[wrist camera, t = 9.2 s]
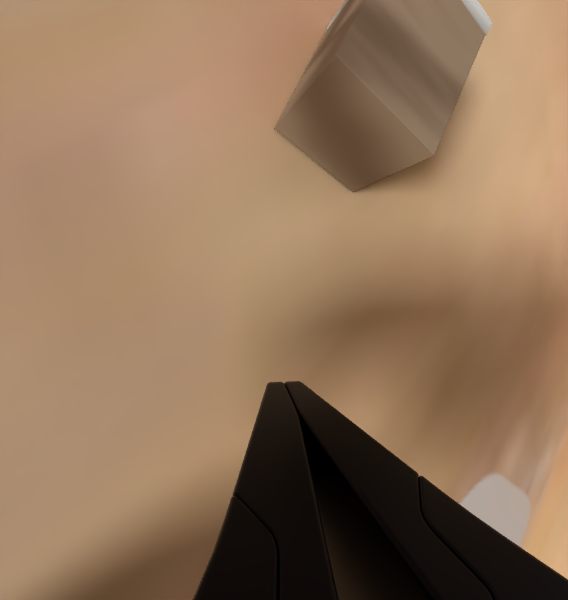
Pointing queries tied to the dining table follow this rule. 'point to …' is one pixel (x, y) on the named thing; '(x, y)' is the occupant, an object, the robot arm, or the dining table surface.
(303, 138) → the polished metal block
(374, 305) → the dining table surface
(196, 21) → the dining table surface
